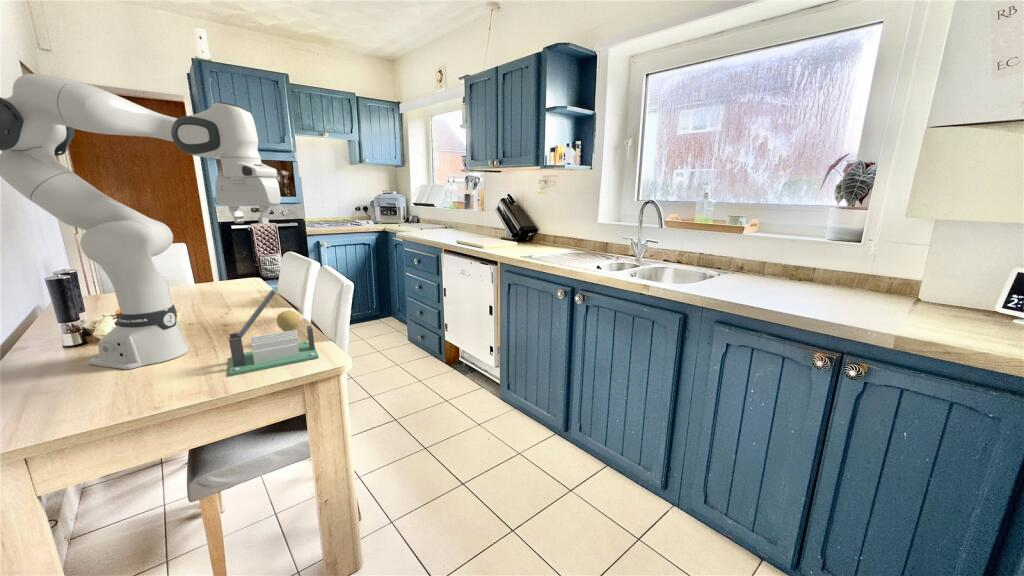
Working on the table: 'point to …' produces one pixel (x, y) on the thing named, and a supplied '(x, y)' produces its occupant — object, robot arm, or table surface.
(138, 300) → the robot arm
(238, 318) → the table surface
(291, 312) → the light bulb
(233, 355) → the board
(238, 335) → the strap
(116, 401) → the table surface
